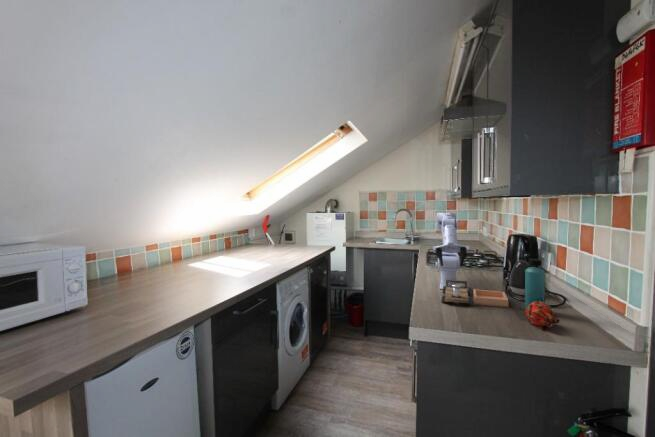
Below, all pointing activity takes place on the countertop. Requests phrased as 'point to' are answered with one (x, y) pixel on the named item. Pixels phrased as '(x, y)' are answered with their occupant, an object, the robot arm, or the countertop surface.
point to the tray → (490, 298)
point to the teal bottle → (534, 283)
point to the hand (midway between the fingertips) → (451, 264)
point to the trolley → (463, 293)
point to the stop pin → (456, 291)
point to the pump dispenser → (518, 277)
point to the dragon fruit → (541, 315)
